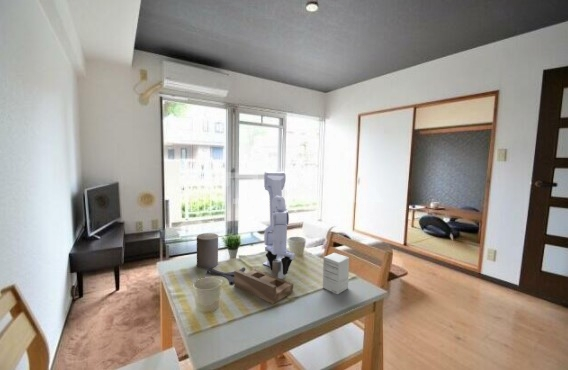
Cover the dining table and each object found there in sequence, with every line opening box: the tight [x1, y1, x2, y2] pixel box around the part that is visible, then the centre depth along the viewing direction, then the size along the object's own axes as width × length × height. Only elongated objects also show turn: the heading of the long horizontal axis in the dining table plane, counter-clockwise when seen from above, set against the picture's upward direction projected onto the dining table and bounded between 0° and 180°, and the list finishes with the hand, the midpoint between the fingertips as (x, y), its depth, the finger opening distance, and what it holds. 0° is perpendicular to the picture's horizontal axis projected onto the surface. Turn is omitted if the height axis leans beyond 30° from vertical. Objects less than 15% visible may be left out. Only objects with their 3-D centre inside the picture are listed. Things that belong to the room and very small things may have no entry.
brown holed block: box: [233, 268, 294, 305], centre depth 101 cm, size 12×20×6 cm, turn 52°
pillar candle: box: [196, 232, 219, 270], centre depth 122 cm, size 10×10×15 cm
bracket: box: [206, 266, 246, 285], centre depth 113 cm, size 14×15×3 cm
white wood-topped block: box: [271, 257, 286, 280], centre depth 111 cm, size 6×3×8 cm, turn 142°
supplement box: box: [322, 252, 350, 295], centre depth 103 cm, size 7×7×13 cm
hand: (279, 271), depth 110 cm, fingers open, 6 cm apart
